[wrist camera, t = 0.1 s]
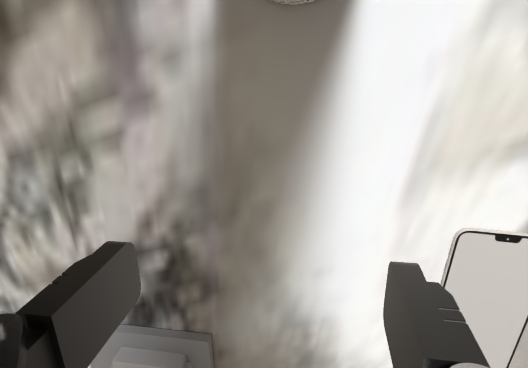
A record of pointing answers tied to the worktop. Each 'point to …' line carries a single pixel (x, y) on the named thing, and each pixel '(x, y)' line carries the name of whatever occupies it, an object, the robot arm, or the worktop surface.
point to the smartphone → (490, 288)
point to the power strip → (154, 349)
